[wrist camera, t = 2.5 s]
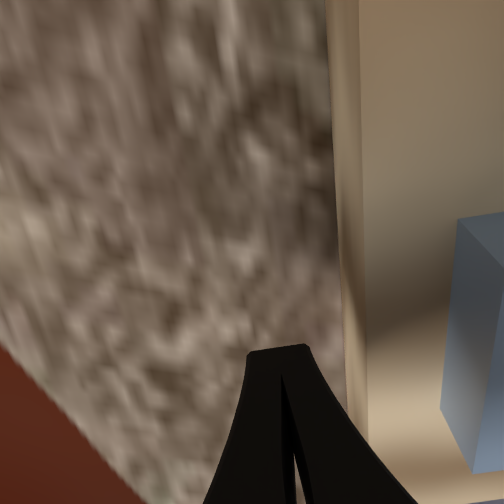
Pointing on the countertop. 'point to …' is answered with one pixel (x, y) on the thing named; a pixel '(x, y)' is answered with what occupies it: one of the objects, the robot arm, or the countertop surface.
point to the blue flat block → (476, 344)
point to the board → (411, 214)
